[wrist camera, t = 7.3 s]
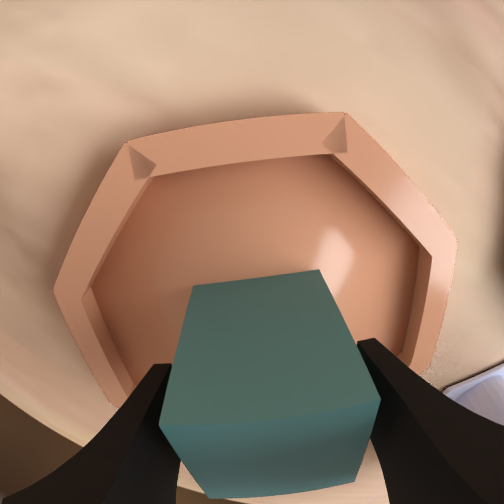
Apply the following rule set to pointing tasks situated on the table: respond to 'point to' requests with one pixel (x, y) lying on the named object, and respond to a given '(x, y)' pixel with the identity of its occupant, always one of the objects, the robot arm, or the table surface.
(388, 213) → the terracotta dish
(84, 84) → the table surface
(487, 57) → the table surface
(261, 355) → the teal block
